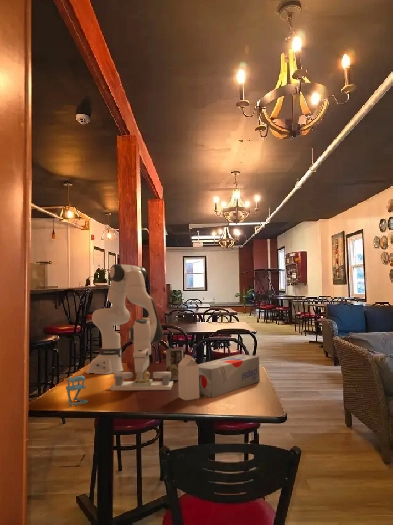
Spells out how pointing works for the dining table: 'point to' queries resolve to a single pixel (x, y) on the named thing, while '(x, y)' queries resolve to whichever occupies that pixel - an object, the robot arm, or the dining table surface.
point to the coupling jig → (151, 384)
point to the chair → (76, 387)
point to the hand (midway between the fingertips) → (142, 378)
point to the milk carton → (188, 378)
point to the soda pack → (228, 374)
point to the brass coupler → (145, 377)
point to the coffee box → (173, 362)
